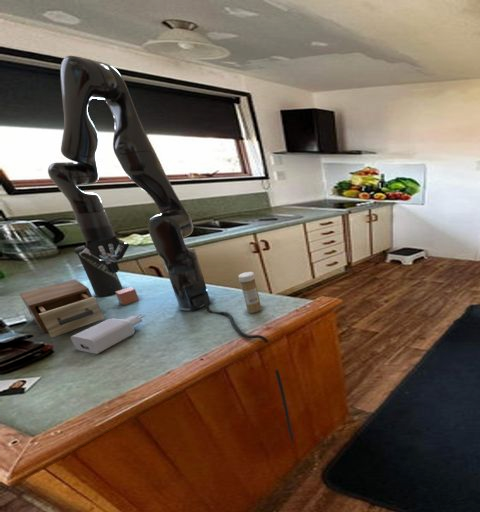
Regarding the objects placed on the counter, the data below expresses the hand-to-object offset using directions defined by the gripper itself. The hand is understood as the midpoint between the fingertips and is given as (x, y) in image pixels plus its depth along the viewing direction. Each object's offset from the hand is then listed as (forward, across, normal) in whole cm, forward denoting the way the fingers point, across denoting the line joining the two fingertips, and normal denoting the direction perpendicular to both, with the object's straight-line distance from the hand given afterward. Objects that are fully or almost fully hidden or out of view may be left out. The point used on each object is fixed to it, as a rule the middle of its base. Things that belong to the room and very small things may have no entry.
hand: (114, 272), depth 97 cm
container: (+12, 0, +18) cm, 22 cm away
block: (+12, +1, 0) cm, 12 cm away
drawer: (+11, -14, -5) cm, 19 cm away
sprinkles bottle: (+12, +19, -49) cm, 54 cm away
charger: (+12, -10, -25) cm, 29 cm away
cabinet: (+12, -14, +7) cm, 20 cm away
